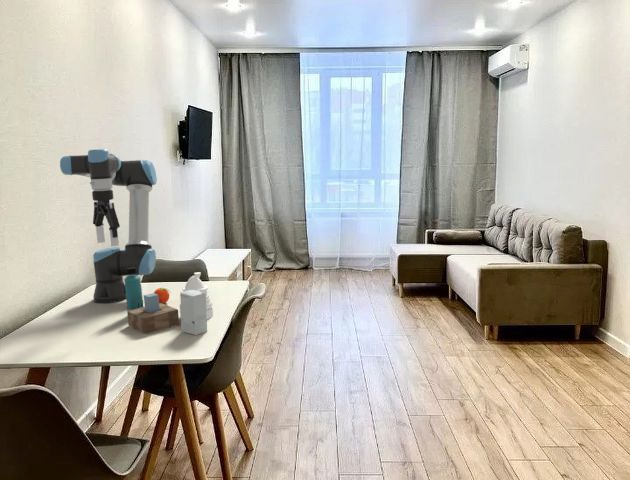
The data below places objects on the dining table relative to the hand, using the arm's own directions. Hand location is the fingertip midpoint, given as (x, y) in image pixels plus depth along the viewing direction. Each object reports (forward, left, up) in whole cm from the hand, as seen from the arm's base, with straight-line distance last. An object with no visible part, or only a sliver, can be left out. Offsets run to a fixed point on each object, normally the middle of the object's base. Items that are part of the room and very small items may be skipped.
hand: (108, 244), depth 221 cm
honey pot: (+22, +24, -31) cm, 45 cm away
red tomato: (-7, +24, -31) cm, 40 cm away
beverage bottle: (+1, +8, -31) cm, 32 cm away
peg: (+19, +7, -31) cm, 37 cm away
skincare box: (+38, +14, -31) cm, 51 cm away
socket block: (+19, +7, -31) cm, 37 cm away
